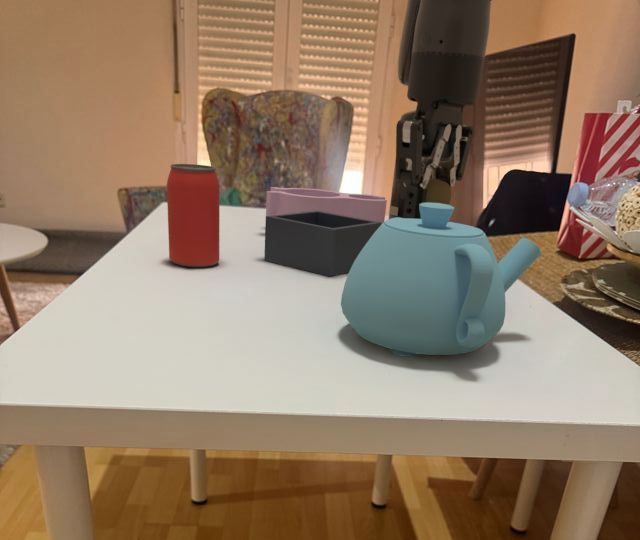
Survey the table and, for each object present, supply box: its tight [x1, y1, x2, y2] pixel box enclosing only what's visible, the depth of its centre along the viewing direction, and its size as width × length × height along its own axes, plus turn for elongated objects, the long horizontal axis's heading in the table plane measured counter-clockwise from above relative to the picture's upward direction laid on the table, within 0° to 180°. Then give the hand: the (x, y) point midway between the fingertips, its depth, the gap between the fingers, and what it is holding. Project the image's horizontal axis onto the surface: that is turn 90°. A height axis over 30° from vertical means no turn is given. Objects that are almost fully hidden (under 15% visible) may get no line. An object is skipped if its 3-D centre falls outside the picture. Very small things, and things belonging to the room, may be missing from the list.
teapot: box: [340, 203, 542, 357], centre depth 59 cm, size 20×20×13 cm
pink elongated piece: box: [265, 186, 388, 223], centre depth 108 cm, size 20×12×7 cm, turn 88°
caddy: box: [263, 211, 382, 277], centre depth 88 cm, size 12×12×6 cm
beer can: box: [166, 163, 220, 268], centre depth 81 cm, size 7×7×12 cm
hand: (424, 220), depth 72 cm, fingers closed on cork, 5 cm apart
